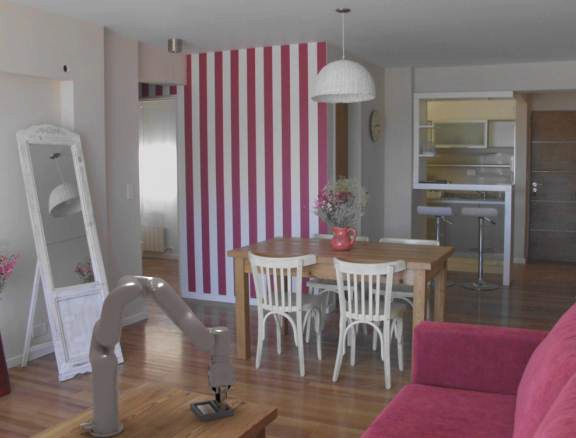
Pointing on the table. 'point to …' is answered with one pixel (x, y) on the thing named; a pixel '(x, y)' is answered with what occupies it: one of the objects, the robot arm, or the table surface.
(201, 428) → the table surface
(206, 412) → the offcut upper
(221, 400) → the birch sheet
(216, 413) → the rack
